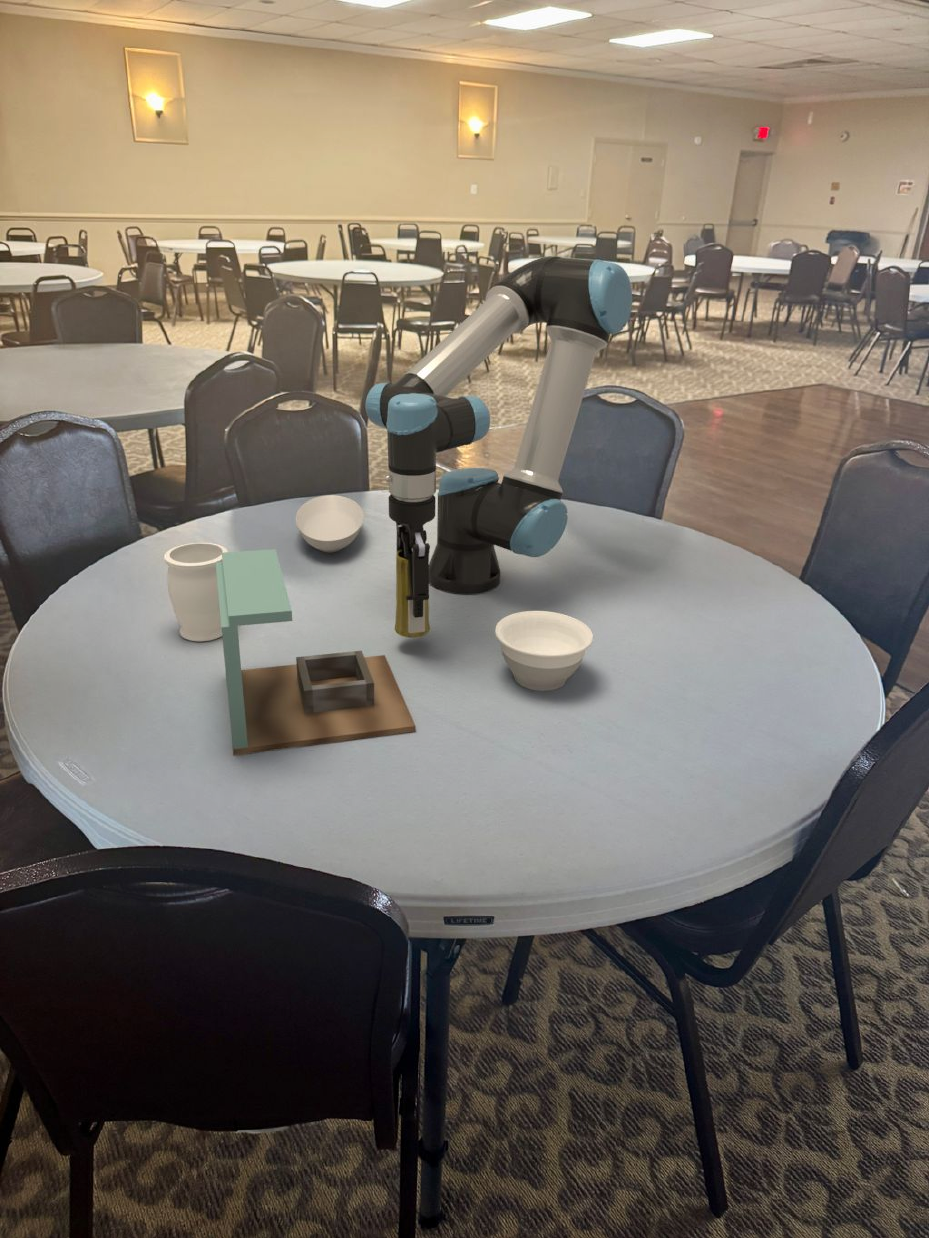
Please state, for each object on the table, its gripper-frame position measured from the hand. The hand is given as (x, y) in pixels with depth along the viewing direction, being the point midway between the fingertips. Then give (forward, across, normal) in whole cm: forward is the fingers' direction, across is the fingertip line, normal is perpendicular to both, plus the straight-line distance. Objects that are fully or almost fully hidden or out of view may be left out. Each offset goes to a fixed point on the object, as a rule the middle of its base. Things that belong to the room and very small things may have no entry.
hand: (412, 622), depth 145 cm
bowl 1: (+6, -53, -6) cm, 54 cm away
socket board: (+4, +14, -19) cm, 24 cm away
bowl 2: (+5, +14, +18) cm, 24 cm away
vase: (+2, 0, 0) cm, 2 cm away
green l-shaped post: (+3, +14, -27) cm, 31 cm away
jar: (+5, -14, -35) cm, 37 cm away
